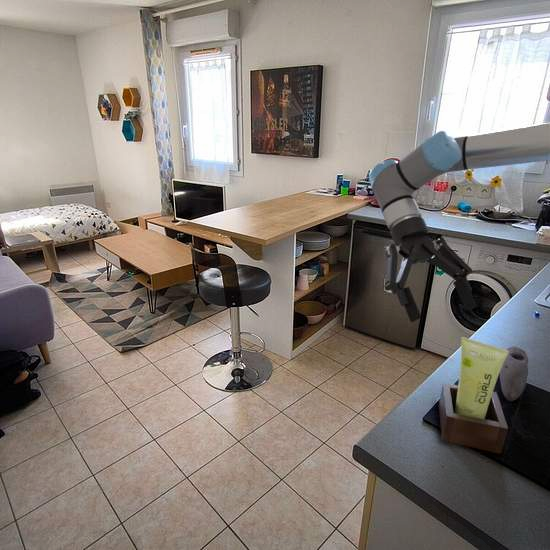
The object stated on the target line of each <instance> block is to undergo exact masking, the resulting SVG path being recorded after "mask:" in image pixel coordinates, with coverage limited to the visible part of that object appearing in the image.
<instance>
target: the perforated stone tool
mask: <svg viewBox="0 0 550 550" xmlns="http://www.w3.org/2000/svg"><path fill="white" fill-rule="evenodd" d="M506 350H508V351H509V352H508V355H507V357H506V359H505V361H504V363H503V366H502V368H501V370H500V373H499V382H500V387H501V392H502V394H503V397H504V398H505V399H506V400H507V401H508V402H514V401H515V400H517V399H518V398H519V397H520V396H521V395H522V393H523V392H524V390H525V387H526V384H527V380H528V375H529V367H528V364H529V357H528V355H527V353H526V351H525V350H524V349H522V348H520V347H519V346H518V347H517V346H509V347H508V348H506Z"/></svg>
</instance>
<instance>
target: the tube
mask: <svg viewBox="0 0 550 550" xmlns="http://www.w3.org/2000/svg"><path fill="white" fill-rule="evenodd" d="M460 341H461V342H460V348H461V349H460V365H459V373H458V374H459V375H458V376H459V378H458V384H457V385H458V392H457V400H456V408H455V412H454V413H455V414H460V415H465V416H470V417H475V418H480V419H485V416H486V412H487V409H488V405H489V402H490V399H491V396H492V393H493V392H494V389H495V386H496V383H497V381H498V378H499V377H500V370H501V368H502V366H503V363H504V361H505V359H506V357H507V355H508V352H509V351H508V350H507V349H504V348H500V347H497V346H494V345H490V344H487V343H485V342H480V341H477V340H473V339H471V338H467V337H464V336H461V338H460ZM485 420H486V419H485Z"/></svg>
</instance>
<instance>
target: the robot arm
mask: <svg viewBox="0 0 550 550" xmlns="http://www.w3.org/2000/svg"><path fill="white" fill-rule="evenodd" d="M549 161H550V121H549V122H543V123H537V124H531V125H523V126H519V127H511V128H508V129H501V130H495V131H488V132H483V133H477V134H476V133H475V134H470V135H465V136H459V137H453V136H452V135H451V134H450V133H448V132H447V131H446V130H439V131H437V132H436V133H435V134H433V135H432V136H430V137H428V138H426V139H425V140H424V142H423V143H421V144H419V145H418V146H417V147H416V148H415V149H414V150H412V151H411V152H410V153H408V154H407V155H406V156H405V157H403V158H402V159H401V160H399V161H397V160H394V159H386V160H383V161H382V162H381V163H377V164H376V165H375V166H374V167H372V168H371V170H370V171H369V174H368V180H369V184H370V187H371V191H372V193H373V194H374V197H375V199H376V201H377V203H378V206H379V208H380V210H381V214H382V216H383V219H384V221H385V224H386V226H387V229H388V230H389V233H390V236H391V238H392V241H393V243H391V244H390V245H389V246H387V248H386V249H385V250H384V252H385V256H386V267H385V277H384V290H385V291H390V292H391V293H392V294H396V296H397V299H398V301H399V304H400V306H401V307H404V308H405V312H406V314H407V317H408V319H409V323H415V322H416V321H418V320H420V319H422V316H421V313H420V311H419V309H418V305H417V303H416V301H415V298H414V296H413V294H412V291H411V288H410V286H406V283H407V281H408V279H409V275H410V272H411V268H412V266H413V265H417V264H419V263H421V264H423V263H428V264H430V265H431V264H432V265H433V266H434V267H436V268H438V269H439V270H441V271H442V272H443V273H445V274H446V275H447V276H448V277H451V278H452V279H453V280H454V281H453V282H452V283H453V285H454V288H455V290H456V292H457V294H458V297H459V299H460V301H461V304H462V305H463V309H464V310H465V311H470V310H472V309H474V308H476V307H478V304H477V302H476V299H475V297H474V295H473V293H472V291H473V289H472V287H471V284H470V282H469V280H468V276H469V275H470V274H471V273H473V269H472V268H471V266H469V265H468V264H467V263H466V261H465V260H463V258H461V256H459V255H458V254H457V253H456V252H455V251H454V250H453V249H452V248H451V247H450V246H449V244H448V243H447V241H446V240H445V238H444V237H442V236H440V237H439V238H437V239H435V240H433V239H431V238H430V229H429V228H428V227H429V226H427V223H426V221H425V219H424V218H423V216H422V215H423V214H422V212H421V210H420V208H419V206H418V204H417V202H416V199H415V197H414V193H415V192H416V191H418V190H420V189H421V188H422V187H423V186H425V185H427V184H428V183H430V182H431V181H433V180H434V179H436V178H438V177H440V176H442V175H444V174H447V173H452V172H461V171H467V170H476V169H477V170H478V169H486V168H496V167H504V166H505V167H506V166H513V165H514V166H515V165H522V164H531V163H532V164H533V163H542V162H549ZM399 255H400V256H401V257H402V260H401V264H400V268H399V271H398V257H399ZM397 273H398V275H397ZM405 286H406V287H405Z"/></svg>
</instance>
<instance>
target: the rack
mask: <svg viewBox="0 0 550 550" xmlns="http://www.w3.org/2000/svg"><path fill="white" fill-rule="evenodd" d="M457 392H458V384H453V383H447V382H442V386H441V391H440V396H439V402H438V410H439V422H440V434H441V441H443V442H447V443H451V444H455V445H459V446H465V447H469V448H473V449H478V450H483V451H486V452H491V453H495V454H500V455H501V454H502V451H503V448H504V444H505V441H506V437H507V434H508V431H509V427H508V423H507V421H506V418H505V414H504V411H503V408H502V405H501V402H500V399H499V398H500V397H499V395H498V393H497V391H493V393H492V396H491V399H490V402H489V405H488V409H487V412H486V416H485V419H480V418H475V417H470V416H465V415H460V414H455V408H456V400H457Z"/></svg>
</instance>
